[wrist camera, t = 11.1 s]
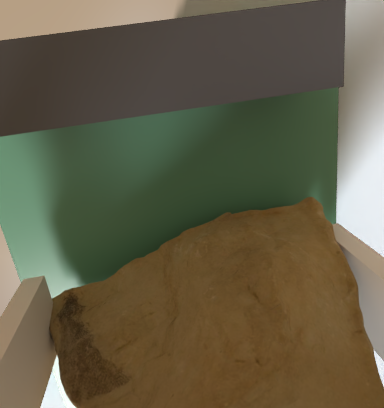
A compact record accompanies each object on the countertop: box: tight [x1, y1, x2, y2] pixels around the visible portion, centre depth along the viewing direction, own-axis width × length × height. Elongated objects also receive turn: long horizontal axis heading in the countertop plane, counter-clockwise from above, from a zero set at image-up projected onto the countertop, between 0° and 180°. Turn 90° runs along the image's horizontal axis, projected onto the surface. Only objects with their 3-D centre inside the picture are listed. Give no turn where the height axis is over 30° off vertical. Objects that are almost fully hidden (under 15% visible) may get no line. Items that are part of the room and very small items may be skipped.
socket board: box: [0, 0, 346, 408], centre depth 14 cm, size 14×18×5 cm
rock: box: [49, 197, 384, 408], centre depth 11 cm, size 11×9×10 cm
